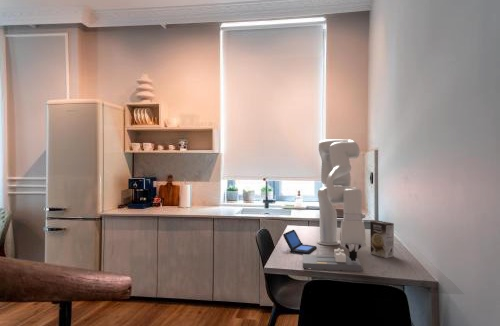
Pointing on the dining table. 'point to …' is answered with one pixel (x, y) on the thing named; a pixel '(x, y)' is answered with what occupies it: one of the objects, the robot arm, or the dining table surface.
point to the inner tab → (338, 251)
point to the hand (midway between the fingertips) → (353, 260)
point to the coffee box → (382, 238)
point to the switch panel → (330, 263)
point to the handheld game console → (297, 243)
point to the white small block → (340, 257)
